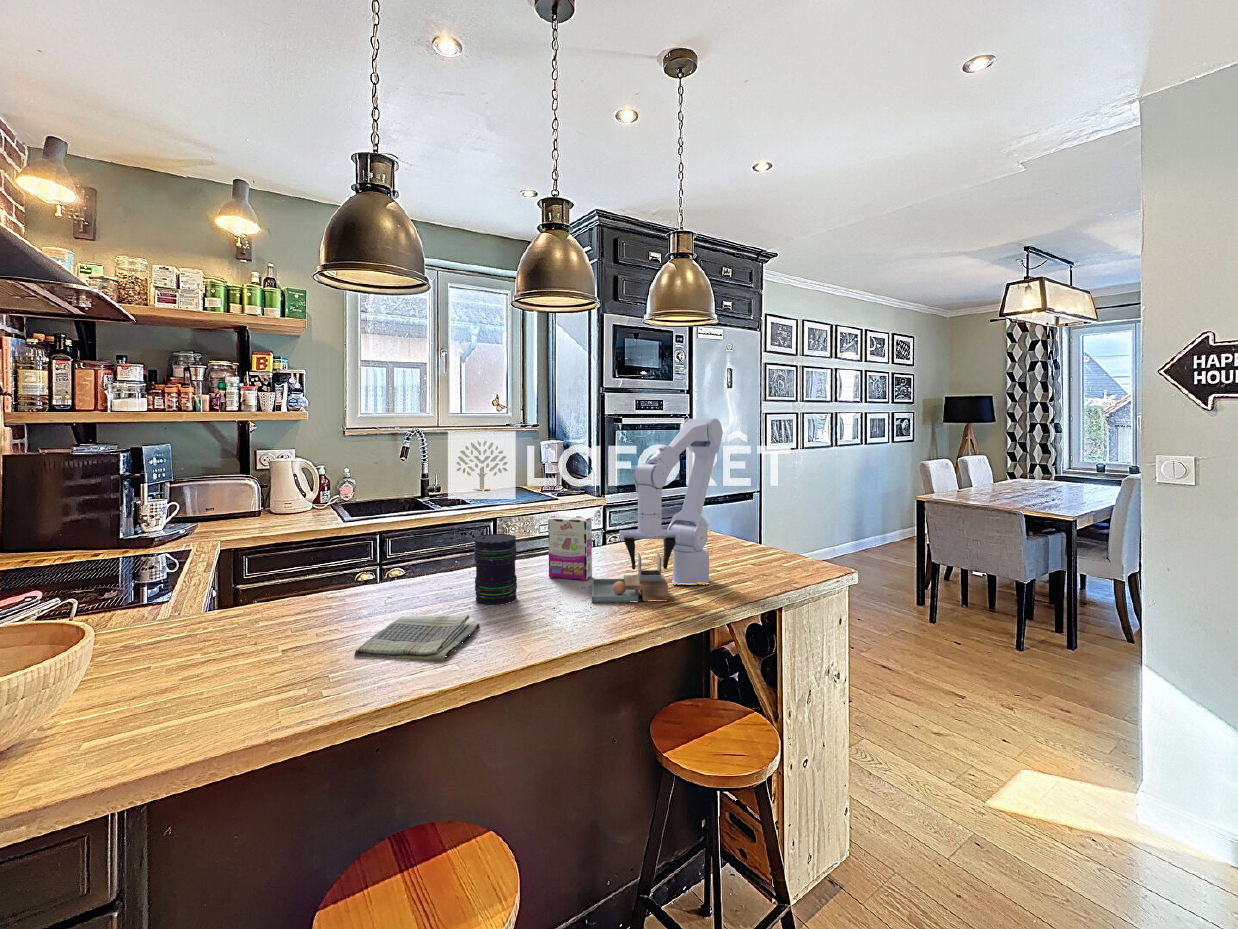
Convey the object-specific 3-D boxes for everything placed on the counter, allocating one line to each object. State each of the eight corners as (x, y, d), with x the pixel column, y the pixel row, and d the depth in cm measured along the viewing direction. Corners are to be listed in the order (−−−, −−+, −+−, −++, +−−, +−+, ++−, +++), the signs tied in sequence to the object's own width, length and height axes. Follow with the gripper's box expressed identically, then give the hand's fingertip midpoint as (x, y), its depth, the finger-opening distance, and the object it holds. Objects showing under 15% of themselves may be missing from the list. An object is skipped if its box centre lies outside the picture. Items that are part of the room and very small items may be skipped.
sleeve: (658, 577, 145) (659, 553, 144) (661, 583, 140) (661, 558, 139) (638, 577, 145) (638, 553, 144) (639, 583, 140) (639, 558, 139)
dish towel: (351, 659, 106) (350, 642, 106) (400, 625, 124) (400, 610, 124) (448, 665, 104) (447, 648, 103) (484, 629, 121) (484, 614, 121)
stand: (663, 590, 147) (663, 575, 147) (667, 601, 138) (667, 585, 138) (623, 591, 147) (623, 575, 147) (625, 602, 138) (625, 585, 138)
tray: (634, 584, 152) (634, 578, 152) (638, 602, 137) (638, 596, 137) (592, 585, 152) (592, 579, 152) (591, 603, 137) (591, 596, 137)
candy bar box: (592, 576, 160) (592, 517, 159) (586, 581, 156) (586, 520, 154) (555, 573, 164) (554, 515, 162) (547, 577, 159) (547, 518, 158)
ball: (615, 594, 144) (627, 589, 144) (616, 598, 141) (628, 593, 141) (610, 582, 144) (622, 577, 144) (610, 586, 140) (623, 581, 140)
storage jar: (521, 593, 144) (521, 534, 143) (510, 606, 135) (509, 542, 134) (482, 592, 145) (481, 533, 144) (468, 605, 136) (467, 541, 135)
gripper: (620, 516, 137) (620, 572, 138) (681, 515, 137) (681, 572, 138) (619, 511, 144) (619, 565, 145) (677, 511, 144) (677, 564, 145)
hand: (649, 568), depth 142 cm, fingers open, 7 cm apart
